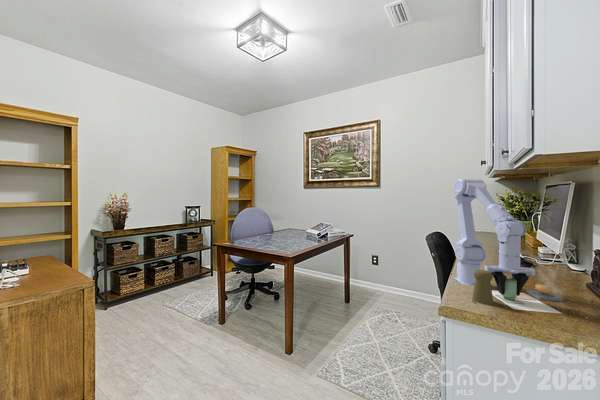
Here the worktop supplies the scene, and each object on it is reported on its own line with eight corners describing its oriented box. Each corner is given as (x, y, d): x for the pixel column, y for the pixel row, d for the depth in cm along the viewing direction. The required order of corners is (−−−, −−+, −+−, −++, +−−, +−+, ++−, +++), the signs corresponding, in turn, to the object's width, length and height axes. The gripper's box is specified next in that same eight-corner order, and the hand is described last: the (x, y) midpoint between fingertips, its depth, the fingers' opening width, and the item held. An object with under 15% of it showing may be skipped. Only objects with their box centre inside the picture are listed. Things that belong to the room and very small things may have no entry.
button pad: (525, 294, 95) (525, 289, 95) (547, 295, 94) (547, 290, 94) (539, 301, 88) (539, 295, 88) (563, 303, 87) (563, 297, 87)
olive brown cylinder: (484, 307, 82) (484, 273, 82) (467, 300, 88) (468, 268, 88) (498, 305, 84) (498, 272, 84) (480, 298, 90) (481, 267, 90)
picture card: (484, 291, 98) (484, 289, 98) (523, 294, 95) (523, 292, 95) (513, 310, 80) (513, 308, 80) (562, 315, 77) (562, 313, 77)
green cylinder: (498, 296, 91) (499, 276, 90) (511, 297, 90) (512, 277, 90) (506, 300, 86) (506, 280, 86) (519, 301, 86) (520, 281, 86)
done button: (532, 288, 94) (532, 283, 94) (546, 289, 93) (546, 284, 93) (540, 292, 89) (541, 287, 89) (555, 293, 89) (555, 288, 89)
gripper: (492, 256, 86) (491, 296, 86) (542, 258, 83) (541, 300, 83) (481, 252, 93) (481, 289, 93) (527, 254, 90) (527, 292, 90)
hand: (508, 294), depth 88 cm, fingers closed on green cylinder, 4 cm apart
